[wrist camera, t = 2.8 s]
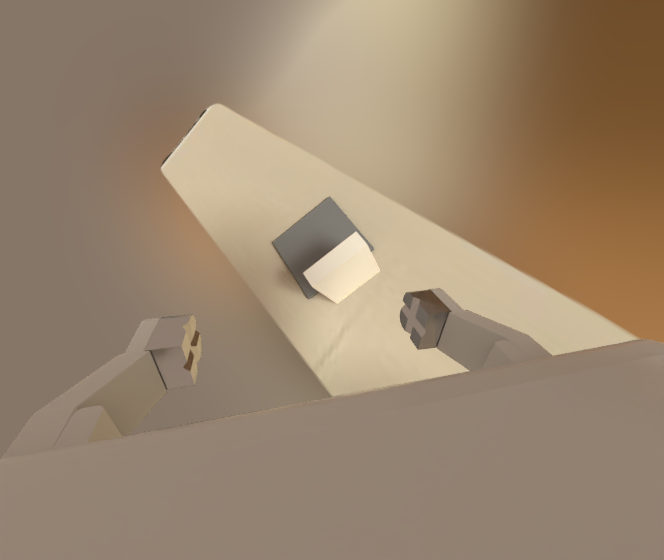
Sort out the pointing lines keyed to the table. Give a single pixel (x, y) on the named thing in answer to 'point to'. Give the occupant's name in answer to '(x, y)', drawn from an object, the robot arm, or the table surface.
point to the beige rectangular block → (343, 269)
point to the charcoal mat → (314, 240)
